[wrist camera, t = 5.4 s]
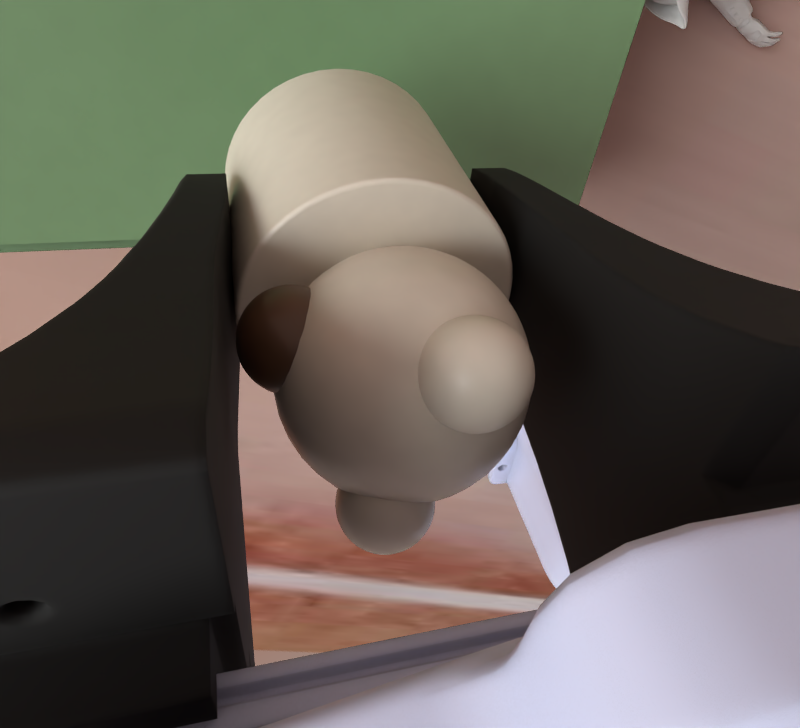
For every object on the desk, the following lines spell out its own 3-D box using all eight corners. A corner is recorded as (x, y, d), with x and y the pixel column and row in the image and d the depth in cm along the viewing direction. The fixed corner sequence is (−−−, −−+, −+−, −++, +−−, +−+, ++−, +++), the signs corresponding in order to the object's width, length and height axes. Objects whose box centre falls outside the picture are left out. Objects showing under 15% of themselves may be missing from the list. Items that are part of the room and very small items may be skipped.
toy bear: (479, 116, 12) (692, 386, 7) (389, 288, 14) (496, 583, 9) (257, 24, 10) (324, 307, 5) (195, 242, 12) (197, 583, 7)
